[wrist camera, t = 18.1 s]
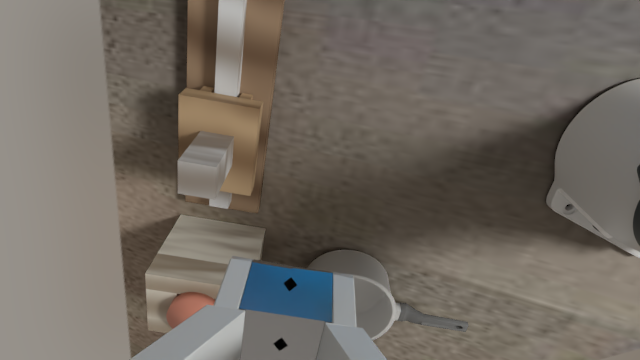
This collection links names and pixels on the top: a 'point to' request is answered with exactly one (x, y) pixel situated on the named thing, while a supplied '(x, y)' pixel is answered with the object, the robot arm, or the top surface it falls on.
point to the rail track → (257, 79)
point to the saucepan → (376, 294)
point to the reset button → (186, 307)
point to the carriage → (217, 142)
